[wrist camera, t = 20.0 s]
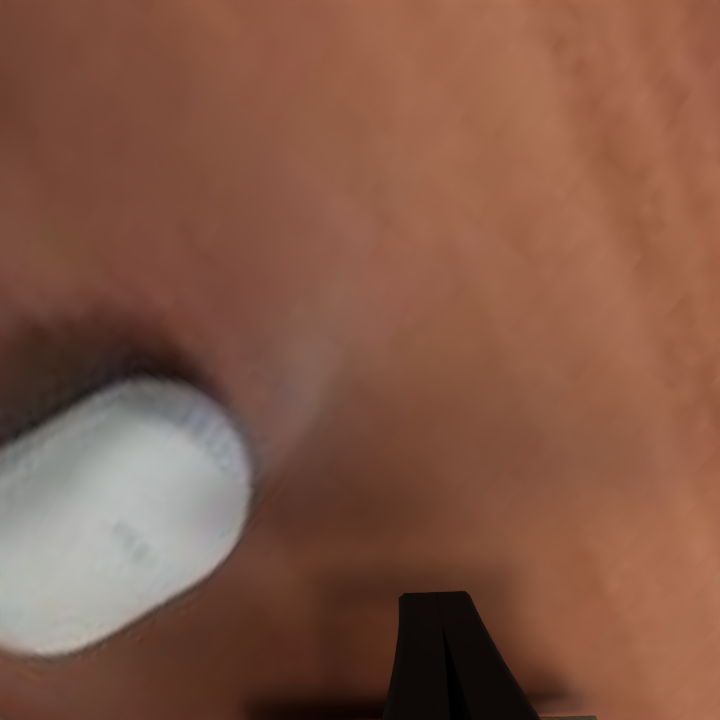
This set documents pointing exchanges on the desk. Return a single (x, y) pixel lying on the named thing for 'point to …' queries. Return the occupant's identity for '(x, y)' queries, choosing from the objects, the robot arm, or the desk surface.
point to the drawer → (570, 718)
